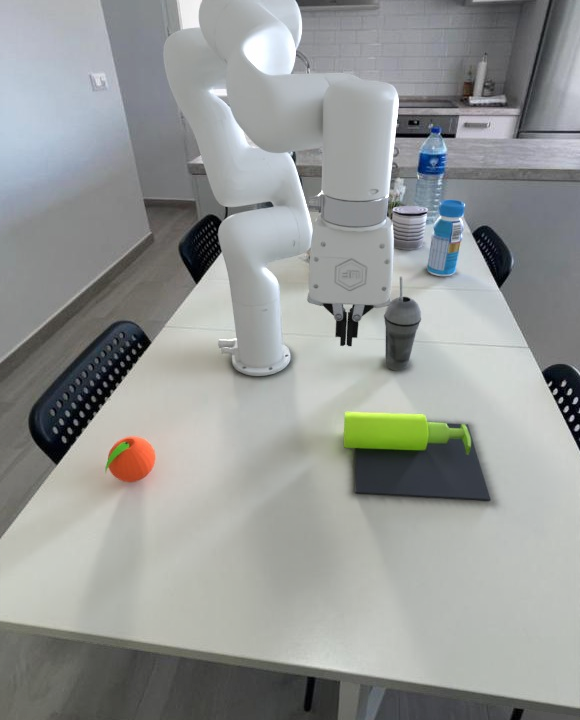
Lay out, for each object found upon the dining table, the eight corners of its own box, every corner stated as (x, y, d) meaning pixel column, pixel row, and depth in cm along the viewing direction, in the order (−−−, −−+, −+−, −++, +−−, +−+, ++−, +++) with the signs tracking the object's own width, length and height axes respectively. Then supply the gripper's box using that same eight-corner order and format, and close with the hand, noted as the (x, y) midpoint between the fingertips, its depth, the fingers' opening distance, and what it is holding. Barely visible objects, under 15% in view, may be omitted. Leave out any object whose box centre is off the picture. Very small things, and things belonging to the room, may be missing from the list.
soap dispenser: (345, 432, 69) (476, 437, 68) (345, 404, 75) (466, 408, 74) (344, 459, 73) (469, 464, 71) (343, 430, 78) (459, 435, 77)
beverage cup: (413, 376, 91) (427, 287, 80) (377, 372, 92) (386, 284, 81) (414, 356, 97) (427, 270, 85) (380, 352, 98) (388, 268, 87)
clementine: (128, 503, 67) (116, 471, 63) (99, 484, 70) (85, 452, 66) (168, 468, 72) (159, 436, 68) (139, 451, 75) (129, 420, 71)
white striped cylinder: (388, 249, 147) (392, 212, 140) (389, 236, 156) (392, 202, 149) (424, 250, 146) (429, 214, 139) (422, 238, 155) (427, 203, 148)
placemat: (355, 493, 68) (355, 491, 68) (354, 420, 81) (354, 419, 81) (490, 500, 66) (490, 499, 66) (467, 425, 79) (467, 424, 79)
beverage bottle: (425, 275, 130) (435, 206, 119) (427, 264, 137) (437, 197, 125) (455, 278, 128) (468, 208, 117) (456, 267, 135) (469, 199, 123)
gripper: (285, 217, 48) (289, 354, 59) (424, 221, 48) (402, 359, 59) (292, 196, 54) (295, 324, 65) (416, 199, 54) (397, 328, 65)
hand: (345, 340), depth 62 cm, fingers closed
